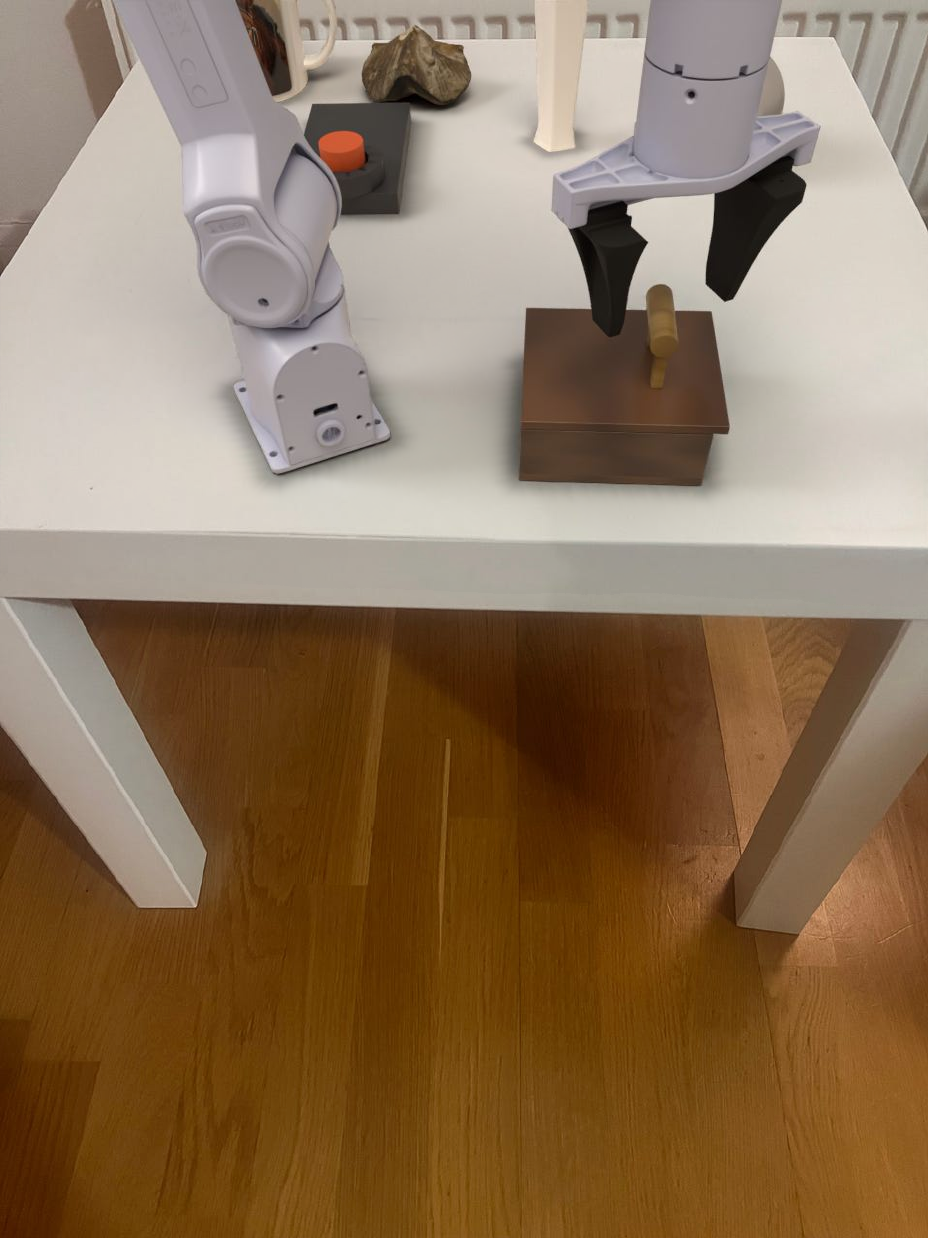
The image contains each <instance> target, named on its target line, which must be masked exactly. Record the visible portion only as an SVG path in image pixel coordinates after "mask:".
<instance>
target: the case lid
mask: <svg viewBox="0 0 928 1238" xmlns="http://www.w3.org/2000/svg"><path fill="white" fill-rule="evenodd" d="M645 305H646V309H626V314H625V320H624V324H623V327H622V330H621V333H620V335H617V336H614V337H608V336H607V335H606V334H605V333H604V332H603V331H602V330H601V329H600V328H599V326H598V325H597V324H596V323H595V322H594V321H593V320H592V310H591V308H564V307H563V308H560V307H559V308H557V307H526V308H525V319H524V340H523V341H524V342H523V364H522V367H523V368H522V386H521V387H522V388H521V411H520V430H521V429H541V430H579V431H617V432H655V433H693V434H714V435H728V434H729V432H730V428H731V425H730V419H729V413H728V408H727V407H728V405H727V400H726V392H725V388H724V387H725V386H724V381H723V380H724V379H723V375H722V368H721V367H722V366H721V361H720V355H719V348H718V343H717V336H716V330H715V324H714V318H713V312H712V311H711V310H676V309H675V302H674V293H673V290H672V288H671V287H670V286H669V285H667V284H664V283H658V284H655V285H652V286H650V288H649V289H648V290H647V291H646V294H645Z"/></svg>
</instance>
